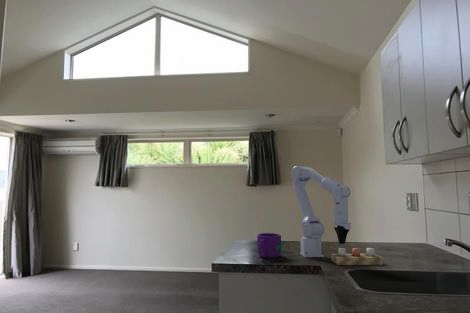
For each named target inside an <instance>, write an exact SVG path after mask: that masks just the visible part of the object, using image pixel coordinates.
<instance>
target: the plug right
mask: <svg viewBox="0 0 470 313" xmlns="http://www.w3.org/2000/svg"><path fill="white" fill-rule="evenodd" d="M366 254H367V256H369V257H374V256H375V255H374V254H375V248H373V247H366Z"/></svg>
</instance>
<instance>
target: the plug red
mask: <svg viewBox="0 0 470 313" xmlns="http://www.w3.org/2000/svg"><path fill="white" fill-rule="evenodd" d="M352 254H353V256H354V257H360V254H361V248H359V247H352Z"/></svg>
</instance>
